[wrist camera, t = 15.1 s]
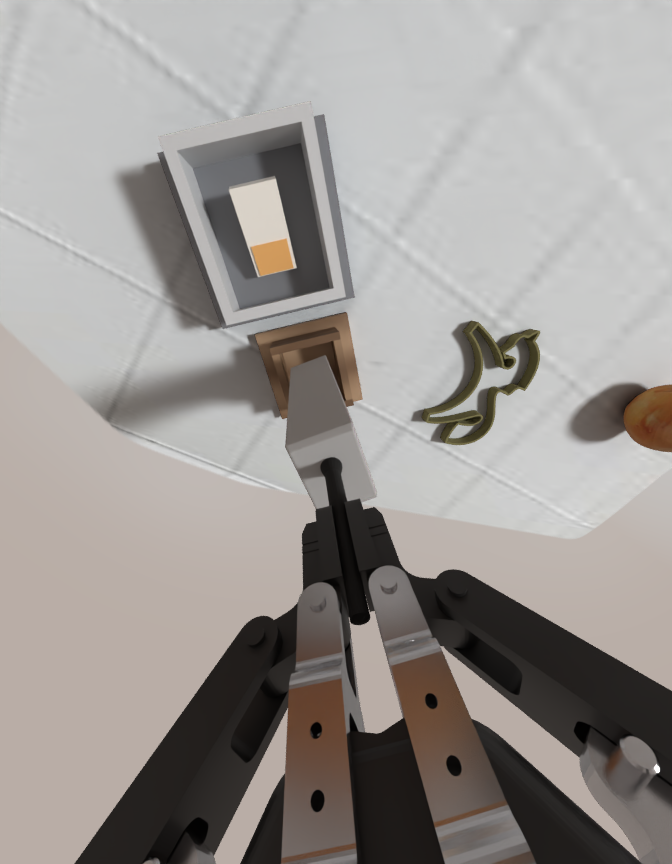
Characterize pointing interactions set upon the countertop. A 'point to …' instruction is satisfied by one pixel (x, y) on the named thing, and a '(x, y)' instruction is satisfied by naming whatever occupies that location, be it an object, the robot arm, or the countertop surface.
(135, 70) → the countertop surface
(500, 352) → the cookie cutter
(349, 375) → the stand
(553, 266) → the countertop surface
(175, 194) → the box
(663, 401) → the onion
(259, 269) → the plate
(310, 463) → the vintage mobile phone
